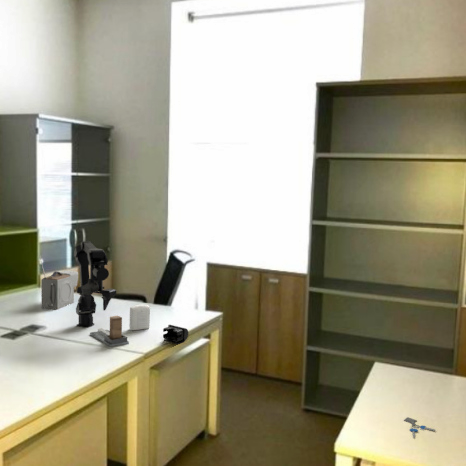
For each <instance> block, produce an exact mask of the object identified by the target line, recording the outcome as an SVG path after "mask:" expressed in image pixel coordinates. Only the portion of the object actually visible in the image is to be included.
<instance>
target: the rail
mask: <svg viewBox="0 0 466 466" xmlns="http://www.w3.org/2000/svg"><path fill="white" fill-rule="evenodd" d="M89 335H90V336H92V337H93V338H95V339H96V340H98V341H99V342H101V343H103V344H104V345H106V346H108V347H109V348H113V347H118V346H123V345H124V346H125V345H129V344H130V341H128V336H125V335H124V334H122V338H117V339H111V338H110V329H104V328H102V327H101V328H97V331H92V332H89Z"/></svg>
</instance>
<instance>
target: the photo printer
mask: <svg viewBox="0 0 466 466" xmlns="http://www.w3.org/2000/svg"><path fill="white" fill-rule="evenodd" d="M150 312H151V308H150V306H149V305H148V304H142V303H141V304H136V305H132V306H131V307H130V308H129V331H139V330H146V329H149V328H150V321H151V320H150V314H151V313H150Z"/></svg>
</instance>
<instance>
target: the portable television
mask: <svg viewBox="0 0 466 466" xmlns="http://www.w3.org/2000/svg"><path fill="white" fill-rule="evenodd" d="M39 258H40V263H41V267H42V270H43V271H42V272H43V275H44V277H43V278H41V279H40V281H41V282H40V283H41V289H40V290H41V294H40V295H41V309H48V310H55V311H56V310H57V311H58V310H60V309H63V308H65V307H67V305H68V306H69V304H70V305H72V304H74V303H75V287H77V286H78V281H79V280H78V279H79V272H78V271H75V270H73V271H72V270H62V271H54V272H53V273H52V274H51V275H50V276H46V272H45V269H44V265H43V261H42V257H41V256H39Z"/></svg>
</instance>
